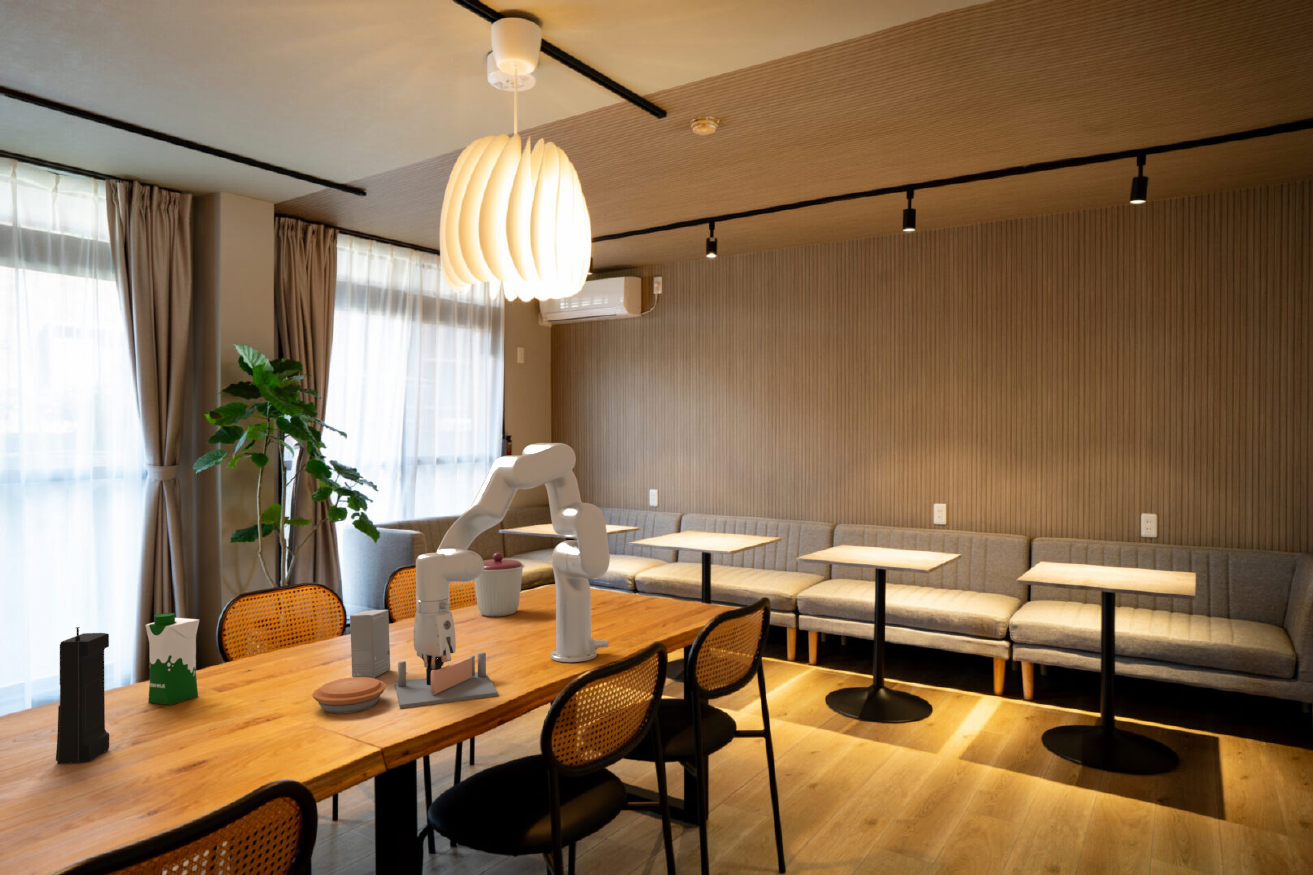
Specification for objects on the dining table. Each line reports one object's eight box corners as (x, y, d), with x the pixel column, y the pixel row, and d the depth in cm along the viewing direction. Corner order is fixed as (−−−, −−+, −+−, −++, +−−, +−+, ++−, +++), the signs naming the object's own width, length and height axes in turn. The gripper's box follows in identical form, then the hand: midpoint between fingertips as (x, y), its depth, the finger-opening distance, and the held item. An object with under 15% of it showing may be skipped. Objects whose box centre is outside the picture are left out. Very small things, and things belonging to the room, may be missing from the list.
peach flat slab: (471, 674, 193) (471, 653, 194) (476, 675, 193) (475, 654, 193) (429, 693, 179) (429, 670, 179) (434, 694, 178) (434, 671, 178)
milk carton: (141, 703, 178) (140, 615, 179) (177, 691, 187) (176, 607, 187) (170, 707, 176) (169, 618, 176) (205, 694, 184) (204, 609, 184)
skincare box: (374, 679, 195) (373, 615, 195) (348, 677, 196) (347, 614, 197) (392, 669, 203) (391, 608, 203) (367, 668, 205) (366, 607, 205)
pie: (315, 722, 165) (315, 698, 165) (310, 701, 179) (309, 679, 179) (391, 709, 172) (391, 686, 172) (380, 690, 186) (380, 669, 186)
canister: (463, 618, 262) (462, 555, 262) (483, 607, 280) (483, 548, 280) (514, 620, 259) (513, 556, 259) (532, 608, 277) (531, 549, 277)
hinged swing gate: (484, 674, 198) (484, 648, 198) (497, 695, 181) (497, 667, 181) (395, 684, 190) (394, 658, 190) (399, 708, 173) (399, 678, 173)
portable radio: (80, 748, 152) (80, 619, 152) (113, 746, 152) (112, 618, 153) (53, 764, 144) (52, 629, 144) (87, 763, 144) (86, 628, 145)
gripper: (467, 606, 183) (468, 684, 183) (424, 600, 192) (425, 675, 192) (442, 612, 177) (443, 693, 177) (399, 605, 185) (400, 683, 185)
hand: (434, 683), depth 184 cm, fingers closed
